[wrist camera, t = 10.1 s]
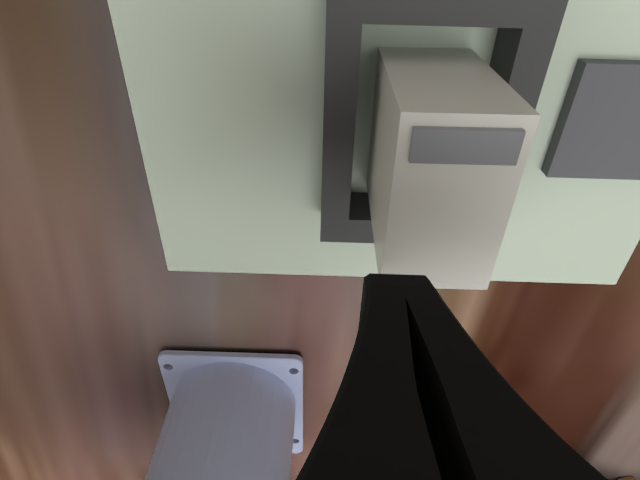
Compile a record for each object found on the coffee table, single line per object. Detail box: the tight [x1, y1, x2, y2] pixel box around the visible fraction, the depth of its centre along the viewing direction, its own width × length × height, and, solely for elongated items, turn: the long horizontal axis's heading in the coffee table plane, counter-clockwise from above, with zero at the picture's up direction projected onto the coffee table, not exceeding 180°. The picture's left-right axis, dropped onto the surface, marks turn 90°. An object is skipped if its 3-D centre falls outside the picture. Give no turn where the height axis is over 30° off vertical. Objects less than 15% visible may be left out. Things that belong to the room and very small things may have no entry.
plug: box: [367, 47, 541, 290], centre depth 14 cm, size 5×3×6 cm, turn 179°
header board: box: [107, 0, 640, 285], centre depth 16 cm, size 15×20×3 cm
